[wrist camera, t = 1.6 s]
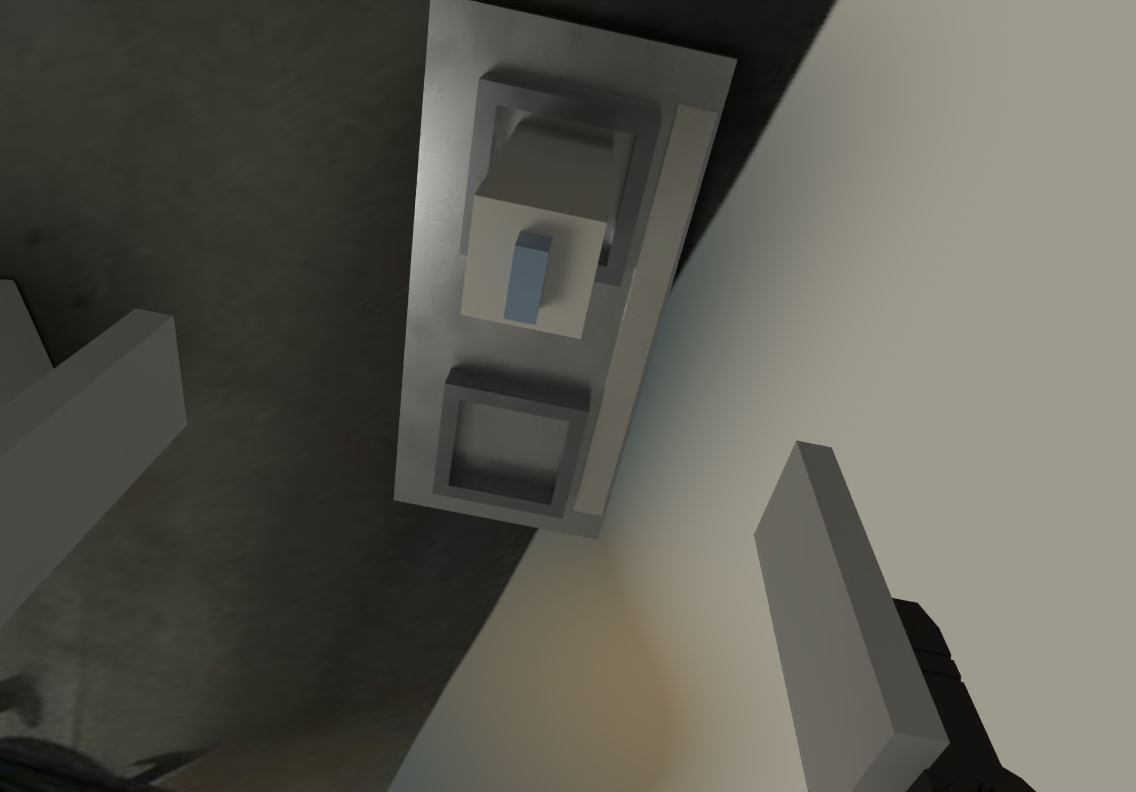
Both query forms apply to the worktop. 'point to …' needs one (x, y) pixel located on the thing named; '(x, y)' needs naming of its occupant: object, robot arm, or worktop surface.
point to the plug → (538, 231)
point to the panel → (622, 280)
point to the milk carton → (18, 346)
